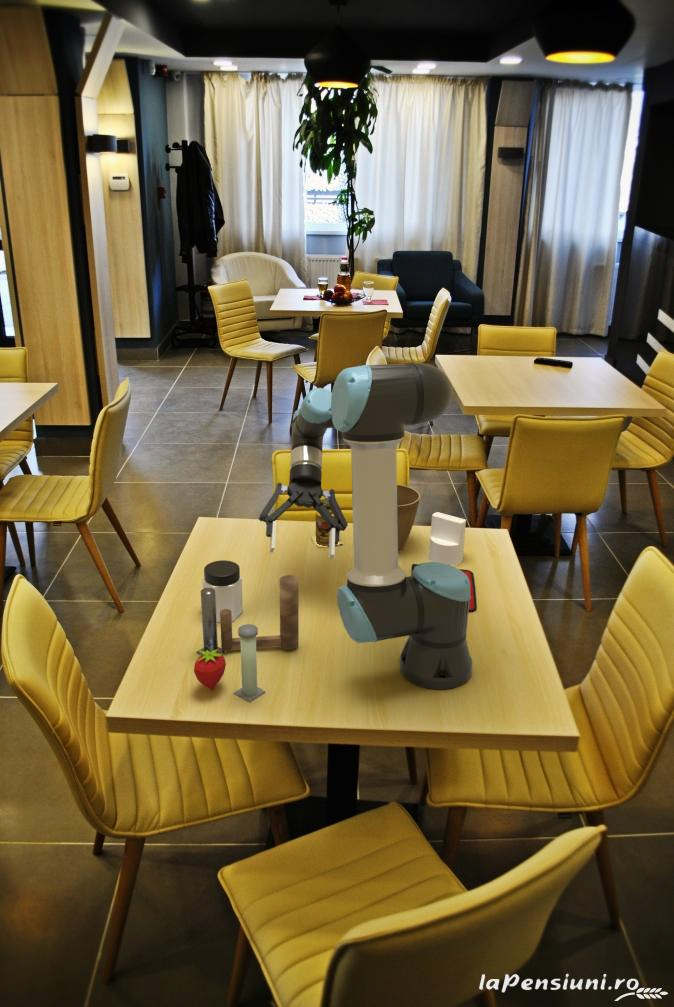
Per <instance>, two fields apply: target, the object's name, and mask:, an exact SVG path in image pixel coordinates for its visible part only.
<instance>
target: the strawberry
mask: <svg viewBox="0 0 674 1007" xmlns="http://www.w3.org/2000/svg"><path fill="white" fill-rule="evenodd" d="M206 646H207V645H206ZM207 647H208V646H207ZM208 648H209V647H208ZM209 649H210V648H209ZM210 650H211V649H210ZM217 650H219V649H217ZM217 650H214V651H212V650H211V652H209V651H208V650H207V651H206V652H205V651H199V652H200V653H201V654H203V655H200V656H199V657H198V658H197V659H196V660H195V662H194V669H193V672H194V673H193V674H194V676H195V678H196V680H197V681H198V682H199V683H200V684H201V685H202V686H203V687H205V688H207V689H208V690H209V691H213V690H214V689H216V687H217V685H218V684H219V683H220V682H221V679H222V678H223V676H224V674H225V670H226V664H227V662H226V659H225V656H224V655H223V654H220V653H218V652H216V651H217Z"/></svg>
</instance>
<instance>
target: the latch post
mask: <svg viewBox="0 0 674 1007" xmlns="http://www.w3.org/2000/svg"><path fill="white" fill-rule="evenodd" d="M258 631H259V630H258V627H257V625H255V624H252V623H251V624H249V623H247V624H242V625H241V626H239V627H238V629H237V635H238V636H239V638H240V641H241V649H240V662H241V663H240V664H241V666H240V668H241V670H240V671H241V687H240V688H239V689H237V690H236V691H234V692H233V694H234V695H236V696H238V697H239V698H241V699H242V700H245V701H247V703H251V702H253V701H255V700H256V699H257V698H259V697H261V696H262V695H265V693H266V690H264V689H262V688H260V687H259V686H258V672H257V671H258V670H257V669H258V667H257V661H258V660H257V648H256V637H257V636H258V633H259V632H258Z"/></svg>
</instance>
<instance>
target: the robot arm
mask: <svg viewBox="0 0 674 1007" xmlns="http://www.w3.org/2000/svg"><path fill="white" fill-rule="evenodd" d="M448 377H449V376H447V375H446V374H445V372H443V371H442V370H441V369H440V368H438V367H436V366H434V365H432V364H430V363H429V364H428V363H425V362H415V361H414V362H407V363H389V364H388V363H386V364H370V365H369V364H365V365H364V364H363V365H358V366H352V367H346V368H344V369H343V370H341V372H340V373H338V375H337V377H336V380H335V381H334V384H333V387H332V391H330V390H328V389H325V388H323V387H317V388H313V389H311V390H309V392H308V393H307V394H306V395H305V397H304V399H303V400H302V401H301V404H300V408H299V409H297V410H295V411H294V413H293V415H292V422H291V448H290V462H289V463H290V465H289V468H290V469H289V480H288V481H289V482H288V486H287V485H283V483H282V482H279V481H278V482H277V483H276V486H275V489H274V492H273V494H272V495H271V497H270V499H269V500H268V502H267V503H266V505H265V507H264V508H263V509H262V511H261V512H260V515H259V517H258V520H259V522H264V523H265V525H266V529H265V530H266V531H265V536H266V537H267V538H269V540H270V541H269V553H274V551H275V549H276V535H277V521H276V520H278V519H279V518H280V516H282V515H283V514H284V513H285V512H286V511H287V510H288V509H290V508H291V507H293V506H294V505H295V506H296V507H298V508H300V507H305V508H307V509H309V508H312V509H314V510H315V512H316V511H317V512H318V513H319V514H320V515H321V517H322V518H323V519H324V520H325V522H326V523H327V524H328V525H329V527H330V528H331V531H330V532H329V547H328V560H332V559H333V558H334V556H335V552H336V551H335V550H336V546H335V545H337V544H338V542H339V540H340V533H341V531H342V532H345V530H346V529H347V527H348V526H349V525H348V522H347V519H346V517H345V516H344V514H343V512H342V508H340V505H339V503H338V501H337V499H336V492H335V489H333V488H331V489H330V490H323V489H322V476H323V473H322V469H323V445H324V444H323V443H324V437H325V434H326V433H327V430H328V429H335V430H336V431H337V432H341V433H342V440H343V441H344V442H345V443H346V444H347V445H348V446H349V447H350V455H351V457H350V458H351V460H350V461H351V489H352V490H351V491H352V492H351V493H352V494H351V498H352V500H351V501H352V527H353V528H352V530H353V531H352V532H353V534H352V535H353V536H352V537H353V564H354V565H353V567H352V568H351V569H350V570H349V571H348V572H347V573H346V585H345V584H344V585H342V586H339V587H338V589H337V593H336V599H337V605H338V606H337V608H338V610H339V616H340V618H341V619H340V620H341V621H342V624H343V626H344V629H345V631H346V633H347V635H348V636H349V637H350V639H351V640H352V641H354V642H355V643H357V644H363V643H365V644H366V643H378V642H380V641H386V640H387V641H388V640H392V639H397V638H401V637H407V640H406V642H405V643H404V645H403V648H402V650H401V652H400V657H399V670H400V673H401V674H402V676H403V678H405V679H406V680H407V681H409V682H410V683H412V684H414V685H416V686H419V687H422V688H426V689H431V690H448V689H450V690H451V689H454V688H457V687H461V686H462V685H464V684H466V682H467V683H468V681H469V680H470V679H471V676H472V670H473V659H472V657H471V654H470V649H469V645H468V641H467V634H468V633H467V632H468V631H467V630H468V621H469V620H468V619H469V612H468V611H469V601H470V599H471V595H470V581H469V578H468V577H467V575H466V574H465V573H463V572H462V571H461V570H459V569H460V568H457V567H455V566H450V565H447V564H443V563H438V562H431V561H426V562H424V561H423V562H421V563H417V564H418V565H417V566H416V567H414V570H413V572H412V571H411V574H412V575H413V576H411V575H410V576H407V574H406V572H405V570H404V569H403V568H401V567H400V566H399V552H398V527H397V484H398V475H397V474H398V469H397V468H398V464H397V463H398V461H397V457H398V456H397V452H398V451H397V448H398V445H399V444H400V443H401V442H402V441H403V440H404V439H405V427H407V426H414V425H422V424H426V423H430V422H432V421H435V420H437V419H439V418H441V417H442V416H443V415H444V414H445V413H446V412H447V410H448V409H449V407H450V405H451V403H452V400H453V395H454V394H453V387H452V383H451V380H450V379H449V378H448ZM284 493H286V494H287V495H288V498H287V499H286V501H284V502H283V503H282V504H281V505H280V506H279V507H277V509H275V510H274V511H273V512H272V513H271V514H270V515H268V514H269V513H270V511H271V510H272V508H273V507H274V505H275V504H276V502H277V500H278V499H279V497H280V496H282V495H283V494H284ZM322 498H324V499H326V501H328V504H329V506H330V508H331V510H332V512H333V515H334V517H335V518H334V517H333V516H332V515H331V513H330V512H329V511H328V510H327V508H326V507H325V506H324V504H323V502H322V501H321V500H322ZM335 519H336V520H335Z"/></svg>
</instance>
